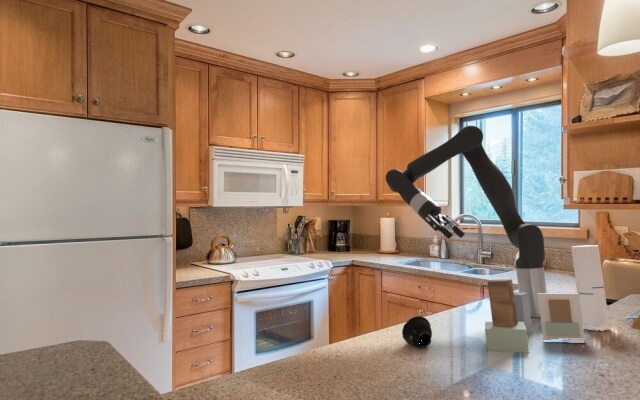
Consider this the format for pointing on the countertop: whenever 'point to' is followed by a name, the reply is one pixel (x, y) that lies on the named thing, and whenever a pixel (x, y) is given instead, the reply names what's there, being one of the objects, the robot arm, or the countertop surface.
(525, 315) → the slate block
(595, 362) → the countertop surface
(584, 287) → the cylindrical container
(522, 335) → the sage base block
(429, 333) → the small rounded object
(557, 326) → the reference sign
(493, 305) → the walnut block
